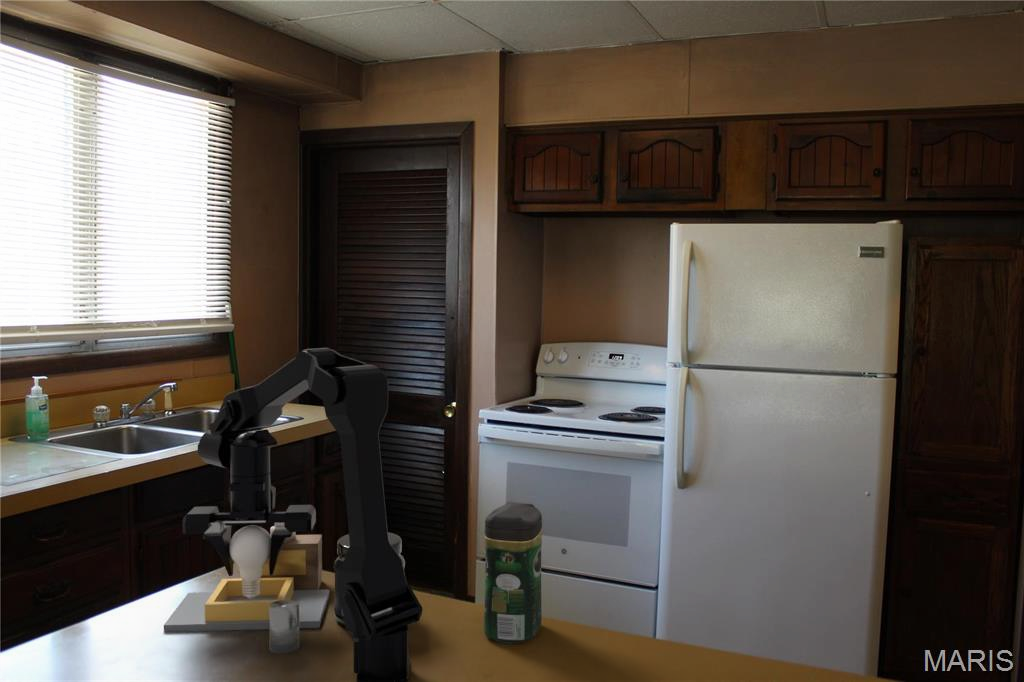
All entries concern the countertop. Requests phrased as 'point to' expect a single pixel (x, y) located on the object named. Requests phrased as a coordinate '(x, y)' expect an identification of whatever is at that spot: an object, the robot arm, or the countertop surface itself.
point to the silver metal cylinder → (283, 626)
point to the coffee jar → (513, 573)
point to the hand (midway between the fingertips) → (251, 574)
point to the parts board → (245, 607)
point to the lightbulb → (250, 556)
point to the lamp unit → (299, 561)
